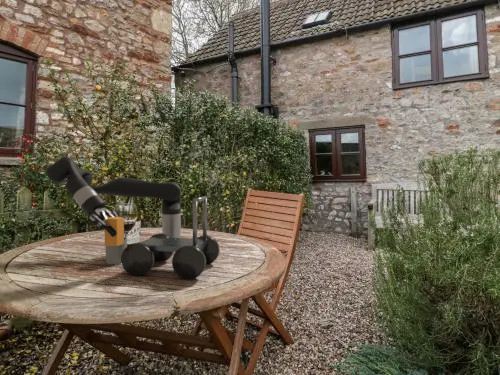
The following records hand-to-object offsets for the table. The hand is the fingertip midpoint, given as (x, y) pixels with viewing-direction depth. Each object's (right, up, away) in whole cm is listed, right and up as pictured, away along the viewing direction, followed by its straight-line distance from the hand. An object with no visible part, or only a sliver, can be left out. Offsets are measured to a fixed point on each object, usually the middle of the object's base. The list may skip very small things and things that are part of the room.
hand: (118, 233), depth 121 cm
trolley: (+19, -15, +7) cm, 25 cm away
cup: (-8, -15, +17) cm, 24 cm away
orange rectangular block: (-2, -4, +1) cm, 5 cm away
